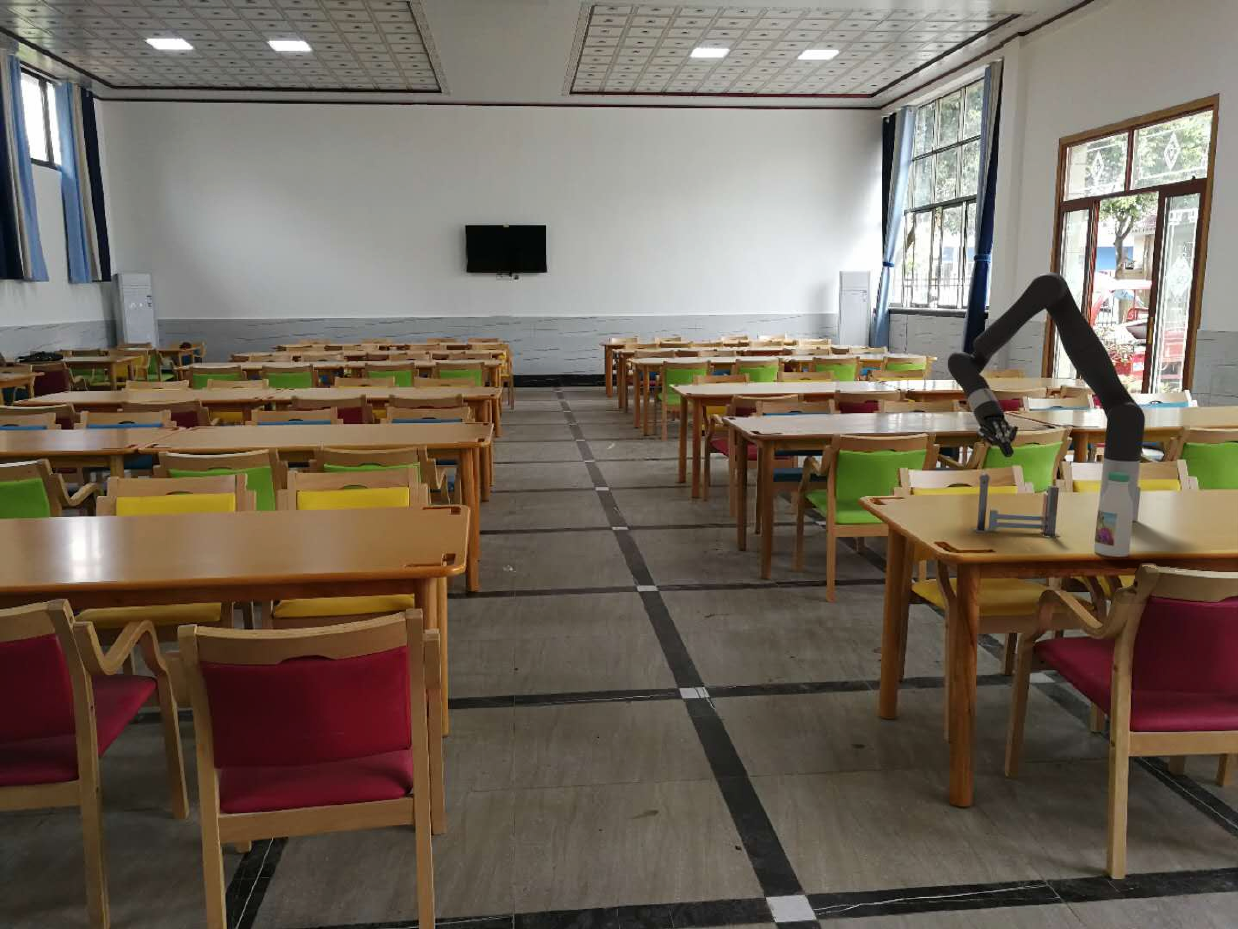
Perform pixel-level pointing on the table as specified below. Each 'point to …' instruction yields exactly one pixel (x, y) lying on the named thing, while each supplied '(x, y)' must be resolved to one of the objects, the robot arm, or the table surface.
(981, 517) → the hinge post
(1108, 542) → the milk bottle
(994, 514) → the gate
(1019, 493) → the table surface
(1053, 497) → the post
